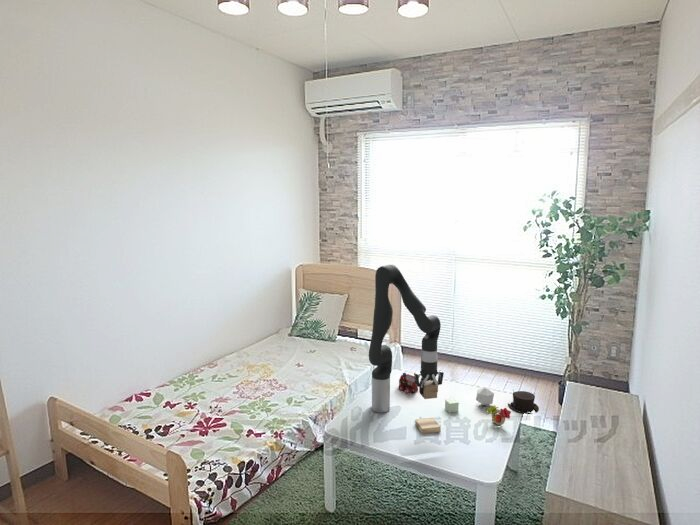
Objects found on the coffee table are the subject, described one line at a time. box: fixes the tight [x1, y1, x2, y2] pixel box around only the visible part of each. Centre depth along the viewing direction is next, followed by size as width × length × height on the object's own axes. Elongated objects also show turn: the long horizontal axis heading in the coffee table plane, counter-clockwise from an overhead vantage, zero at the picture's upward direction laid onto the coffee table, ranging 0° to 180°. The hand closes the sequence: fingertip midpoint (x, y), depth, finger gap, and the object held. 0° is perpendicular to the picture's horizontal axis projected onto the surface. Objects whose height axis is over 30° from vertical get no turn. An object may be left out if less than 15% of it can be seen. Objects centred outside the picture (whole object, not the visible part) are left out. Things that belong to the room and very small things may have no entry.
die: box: [475, 387, 495, 406], centre depth 236 cm, size 8×9×10 cm
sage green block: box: [444, 398, 460, 414], centre depth 232 cm, size 5×5×5 cm
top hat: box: [507, 389, 540, 415], centre depth 234 cm, size 15×15×10 cm
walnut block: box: [421, 380, 438, 400], centre depth 211 cm, size 6×6×6 cm
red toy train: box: [397, 372, 419, 395], centre depth 255 cm, size 7×12×10 cm, turn 39°
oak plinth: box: [414, 417, 442, 435], centre depth 213 cm, size 9×9×2 cm
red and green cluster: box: [486, 405, 512, 426], centre depth 217 cm, size 6×11×9 cm, turn 44°
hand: (428, 393), depth 211 cm, fingers closed on walnut block, 6 cm apart
